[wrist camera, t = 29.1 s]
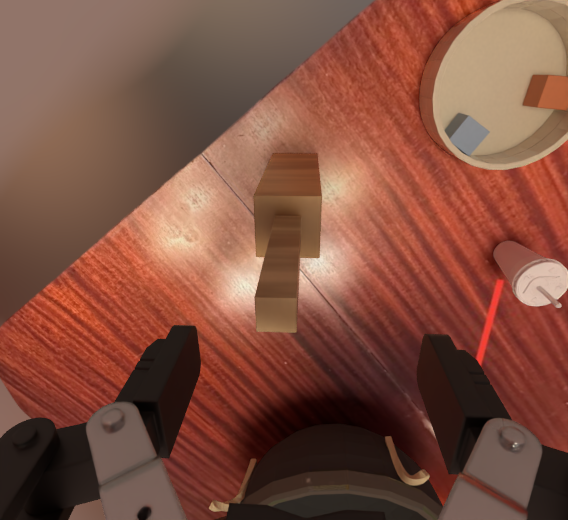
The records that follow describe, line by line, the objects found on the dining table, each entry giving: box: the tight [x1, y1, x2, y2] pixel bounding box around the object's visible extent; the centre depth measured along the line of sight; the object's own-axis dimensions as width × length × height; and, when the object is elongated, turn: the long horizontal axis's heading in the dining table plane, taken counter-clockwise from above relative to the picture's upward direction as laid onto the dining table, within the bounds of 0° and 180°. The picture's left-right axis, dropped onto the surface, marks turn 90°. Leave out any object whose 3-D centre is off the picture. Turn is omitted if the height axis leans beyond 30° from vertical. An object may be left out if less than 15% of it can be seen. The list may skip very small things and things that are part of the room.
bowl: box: [209, 424, 443, 520], centre depth 67 cm, size 35×35×20 cm
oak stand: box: [254, 153, 322, 258], centre depth 44 cm, size 6×6×20 cm
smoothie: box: [493, 241, 568, 308], centre depth 49 cm, size 6×6×14 cm
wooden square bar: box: [255, 216, 301, 333], centre depth 28 cm, size 2×2×14 cm
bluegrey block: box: [444, 113, 490, 156], centre depth 47 cm, size 3×3×3 cm
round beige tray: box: [419, 0, 568, 170], centre depth 44 cm, size 17×17×6 cm
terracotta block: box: [523, 75, 568, 110], centre depth 44 cm, size 3×3×3 cm
